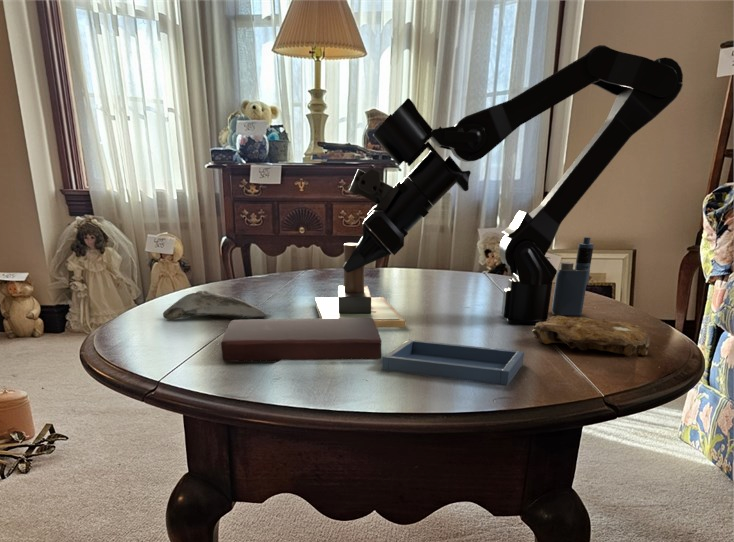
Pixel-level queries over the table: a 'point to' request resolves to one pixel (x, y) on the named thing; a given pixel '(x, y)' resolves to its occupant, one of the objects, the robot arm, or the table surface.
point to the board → (379, 312)
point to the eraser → (353, 288)
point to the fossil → (210, 306)
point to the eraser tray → (454, 361)
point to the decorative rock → (593, 334)
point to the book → (301, 339)
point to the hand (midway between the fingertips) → (345, 268)
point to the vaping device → (573, 282)
